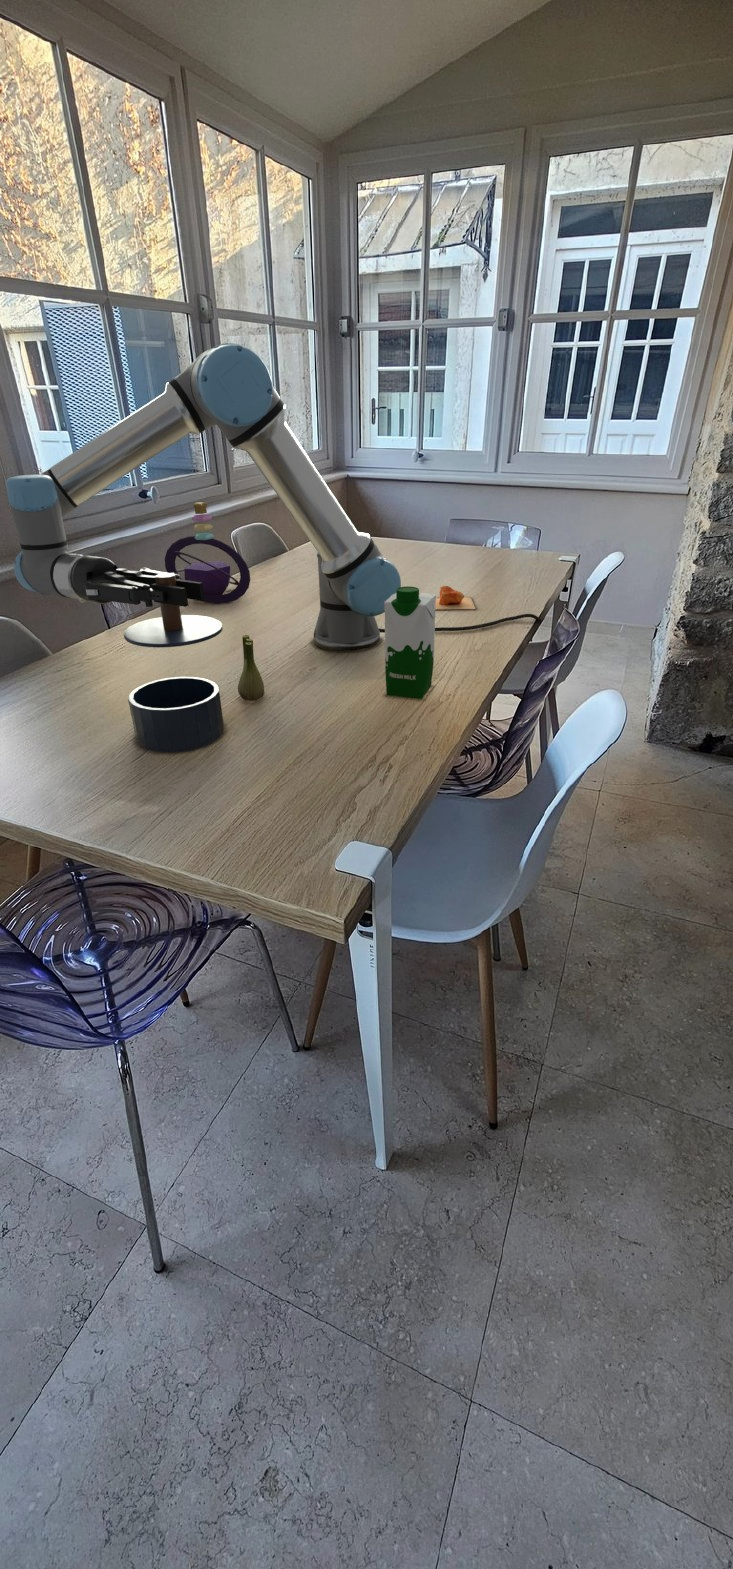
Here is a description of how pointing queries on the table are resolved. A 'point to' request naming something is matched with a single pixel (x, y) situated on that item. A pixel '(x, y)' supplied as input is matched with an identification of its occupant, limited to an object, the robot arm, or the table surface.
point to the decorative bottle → (209, 563)
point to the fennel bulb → (250, 674)
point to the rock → (453, 600)
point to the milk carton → (409, 642)
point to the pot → (176, 714)
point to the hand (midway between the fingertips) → (193, 594)
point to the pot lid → (172, 625)
